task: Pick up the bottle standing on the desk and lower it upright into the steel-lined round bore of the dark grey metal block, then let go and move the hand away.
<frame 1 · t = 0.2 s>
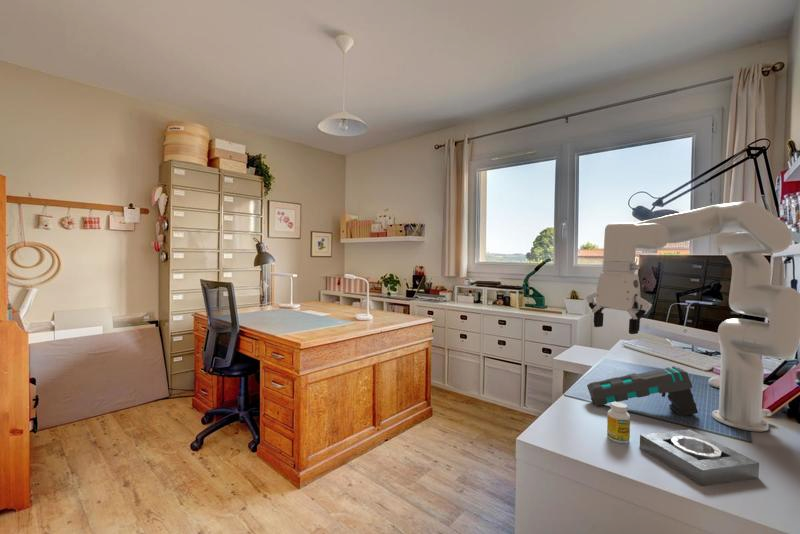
hand: (615, 330, 100), 30 cm above the table, tool pointing down, fingers open, 9 cm apart
bore block: (694, 461, 89), on the table
gun: (639, 409, 120), on the table
supplement bottle: (617, 439, 100), on the table
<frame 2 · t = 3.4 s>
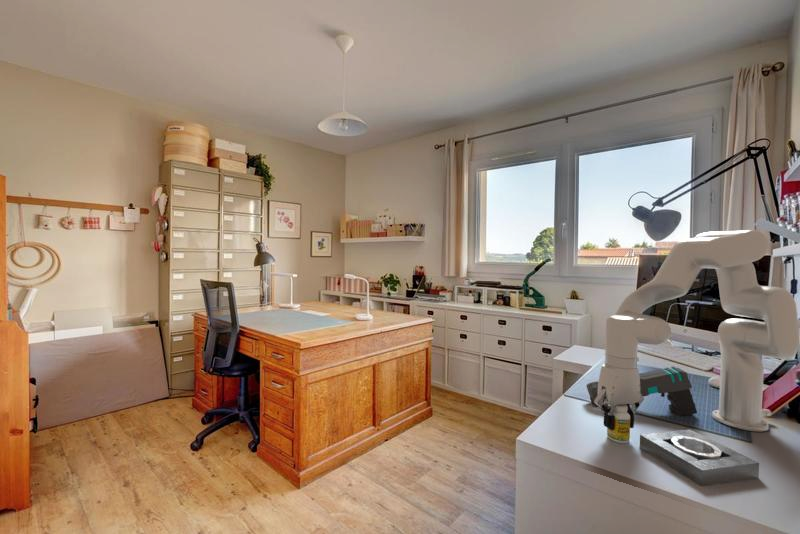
hand: (618, 426, 99), 4 cm above the table, tool pointing down, fingers closed on supplement bottle, 5 cm apart
supplement bottle: (618, 439, 100), on the table, touching gripper
everything else where it was.
when the fingers open (5 cm above the table, at t = 9.2 s): supplement bottle drops 2 cm, resting in bore block.
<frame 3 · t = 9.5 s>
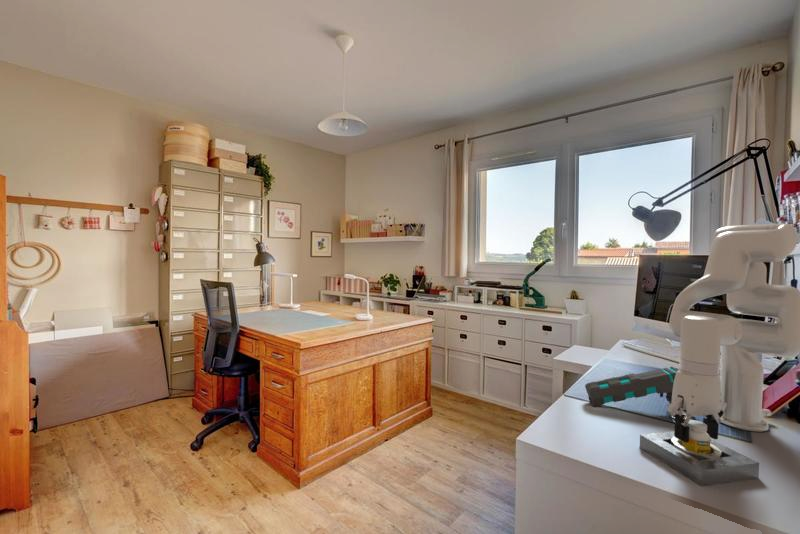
hand: (695, 437, 89), 6 cm above the table, tool pointing down, fingers open, 8 cm apart
supplement bottle: (695, 462, 89), resting in bore block
everything else where it was.
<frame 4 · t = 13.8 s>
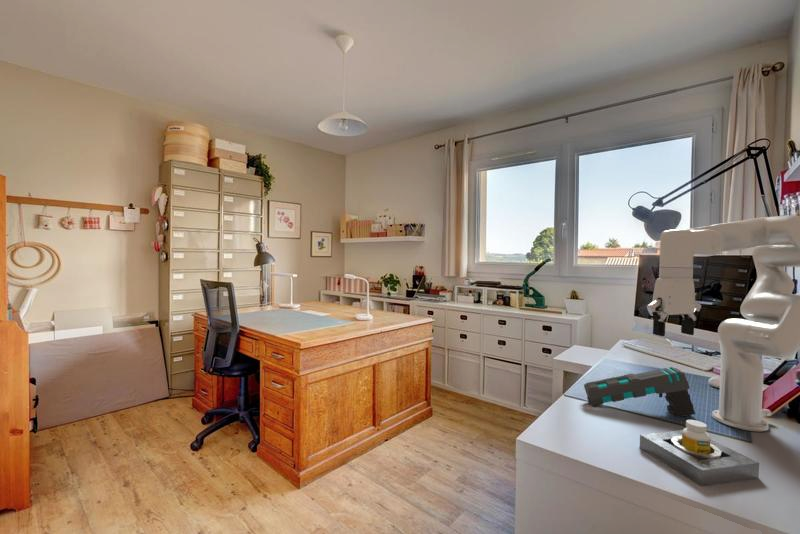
hand: (673, 334, 102), 28 cm above the table, tool pointing down, fingers open, 9 cm apart
at the end: supplement bottle 0.1 cm off-centre on the bore block, point 0.0 cm above the bore block's base; supplement bottle tilted 0°; the gripper is holding nothing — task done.
